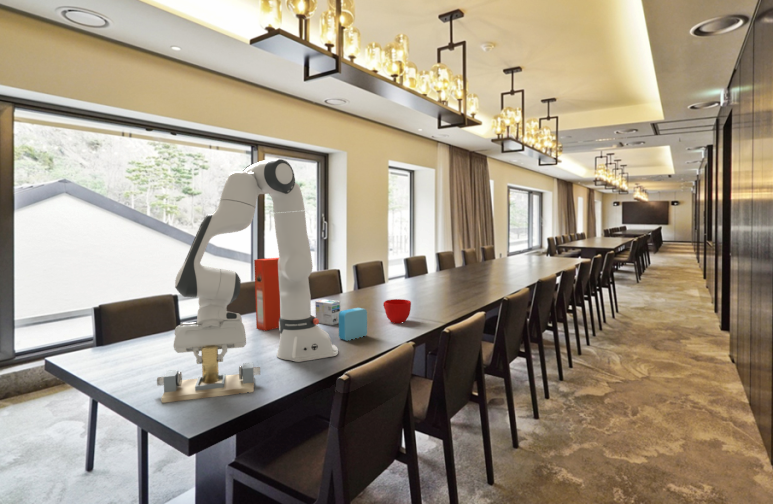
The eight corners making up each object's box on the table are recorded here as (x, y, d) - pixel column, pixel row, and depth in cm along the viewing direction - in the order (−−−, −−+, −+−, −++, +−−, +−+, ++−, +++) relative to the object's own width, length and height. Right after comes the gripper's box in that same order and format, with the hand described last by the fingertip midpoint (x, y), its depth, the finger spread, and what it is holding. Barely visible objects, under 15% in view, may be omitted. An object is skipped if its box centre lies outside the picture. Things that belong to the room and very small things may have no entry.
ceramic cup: (393, 316, 216) (393, 297, 215) (416, 322, 203) (416, 302, 202) (374, 320, 208) (374, 300, 207) (396, 326, 195) (396, 305, 194)
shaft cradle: (260, 376, 133) (259, 358, 133) (260, 391, 122) (260, 371, 121) (163, 387, 125) (162, 367, 124) (153, 403, 113) (152, 382, 113)
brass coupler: (219, 377, 126) (218, 344, 125) (218, 382, 122) (217, 349, 121) (203, 378, 125) (202, 346, 124) (201, 384, 120) (200, 350, 120)
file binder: (256, 328, 193) (254, 259, 190) (287, 321, 206) (285, 256, 203) (266, 331, 187) (264, 260, 185) (297, 323, 200) (296, 257, 198)
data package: (360, 334, 182) (360, 307, 182) (367, 336, 179) (367, 308, 178) (338, 339, 174) (338, 311, 173) (345, 341, 171) (345, 312, 170)
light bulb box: (341, 322, 203) (340, 300, 202) (332, 325, 197) (331, 303, 196) (324, 320, 208) (323, 298, 207) (315, 322, 203) (314, 300, 202)
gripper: (174, 318, 125) (168, 360, 117) (245, 313, 131) (245, 353, 123) (177, 329, 130) (172, 370, 121) (246, 324, 136) (246, 363, 127)
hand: (210, 362), depth 122 cm, fingers closed on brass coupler, 4 cm apart
